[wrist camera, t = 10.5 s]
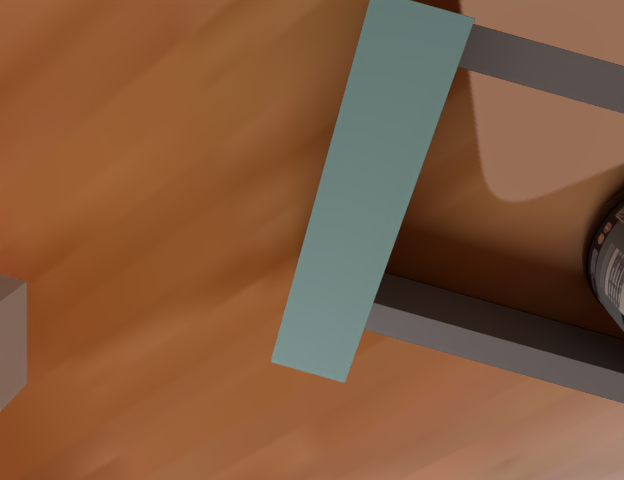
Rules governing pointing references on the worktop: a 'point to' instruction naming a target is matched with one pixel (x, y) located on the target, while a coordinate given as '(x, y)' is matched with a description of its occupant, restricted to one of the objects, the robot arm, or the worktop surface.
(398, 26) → the gray open tray
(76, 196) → the worktop surface
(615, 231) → the supplement container
